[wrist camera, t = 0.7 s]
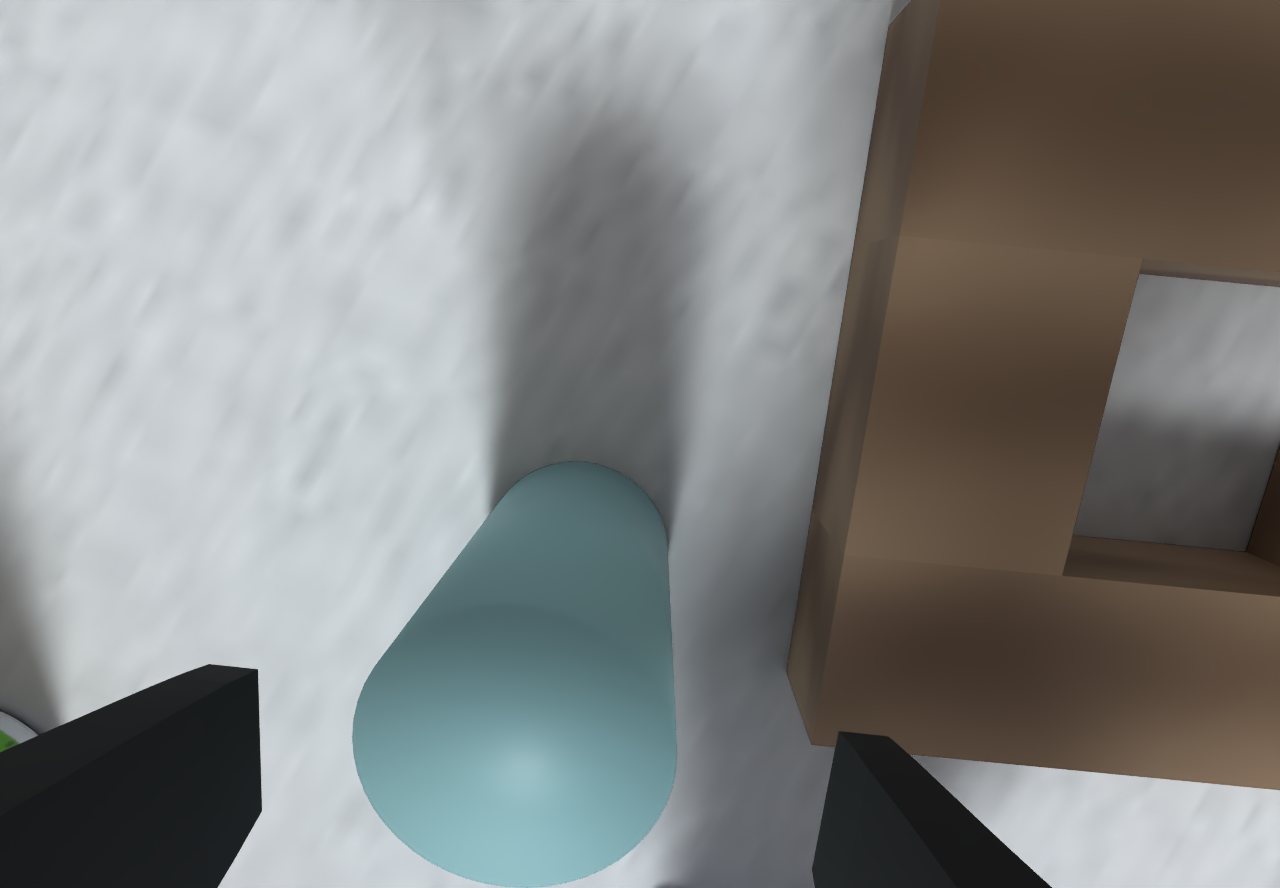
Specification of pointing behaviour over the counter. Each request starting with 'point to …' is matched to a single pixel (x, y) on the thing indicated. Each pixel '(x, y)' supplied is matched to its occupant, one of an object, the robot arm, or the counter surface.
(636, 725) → the teal peg
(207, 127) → the counter surface
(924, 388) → the walnut well block
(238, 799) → the robot arm
